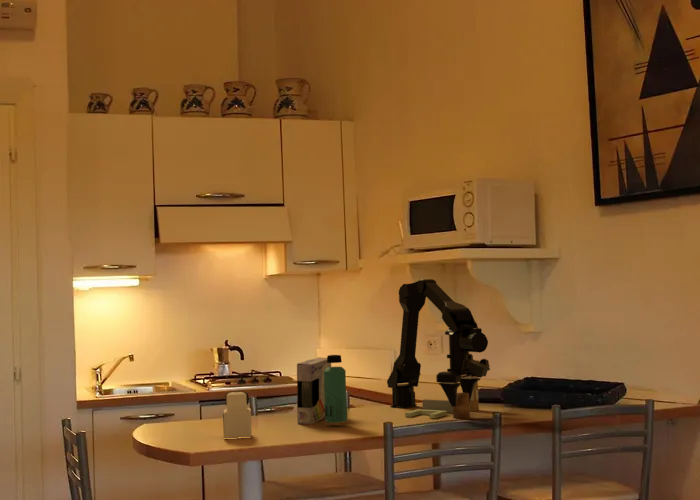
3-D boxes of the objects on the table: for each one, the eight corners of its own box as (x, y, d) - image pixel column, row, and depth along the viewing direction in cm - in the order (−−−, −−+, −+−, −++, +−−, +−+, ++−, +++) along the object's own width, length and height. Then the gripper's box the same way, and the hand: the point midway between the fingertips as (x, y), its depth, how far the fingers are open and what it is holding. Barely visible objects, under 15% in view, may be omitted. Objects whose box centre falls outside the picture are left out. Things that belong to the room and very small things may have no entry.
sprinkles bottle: (482, 410, 294) (480, 366, 294) (470, 411, 291) (469, 367, 292) (472, 409, 297) (471, 365, 298) (461, 410, 295) (459, 366, 295)
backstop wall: (422, 411, 295) (422, 399, 295) (425, 410, 297) (424, 399, 297) (455, 413, 289) (454, 401, 289) (457, 412, 291) (456, 400, 291)
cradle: (404, 416, 284) (404, 412, 284) (418, 413, 291) (418, 409, 291) (434, 418, 279) (434, 414, 279) (447, 414, 285) (446, 410, 285)
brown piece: (450, 418, 279) (449, 394, 279) (457, 416, 283) (457, 392, 283) (465, 419, 276) (464, 394, 276) (472, 417, 280) (471, 393, 281)
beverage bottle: (351, 424, 272) (349, 353, 272) (343, 428, 266) (341, 355, 266) (329, 424, 274) (327, 353, 275) (321, 427, 268) (319, 355, 268)
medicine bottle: (224, 435, 259) (223, 390, 259) (251, 434, 259) (250, 389, 260) (223, 440, 252) (222, 393, 252) (251, 438, 252) (250, 392, 253)
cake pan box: (311, 425, 274) (309, 362, 274) (294, 424, 275) (293, 362, 276) (333, 415, 292) (332, 357, 292) (318, 415, 293) (316, 357, 294)
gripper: (470, 353, 268) (471, 410, 268) (498, 348, 284) (499, 402, 283) (434, 353, 274) (436, 408, 274) (463, 348, 290) (465, 400, 289)
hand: (460, 404), depth 280 cm, fingers open, 9 cm apart
